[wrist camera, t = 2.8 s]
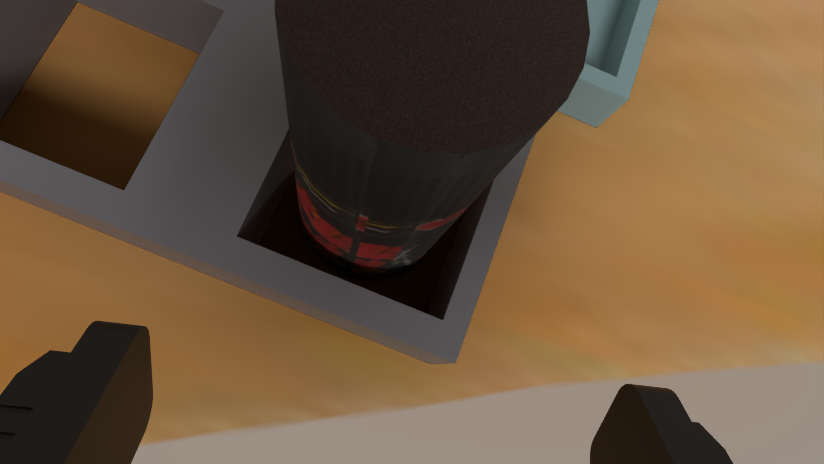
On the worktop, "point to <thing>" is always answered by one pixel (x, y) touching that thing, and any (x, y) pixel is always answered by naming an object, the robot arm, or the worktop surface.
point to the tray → (610, 58)
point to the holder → (233, 174)
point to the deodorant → (414, 113)
